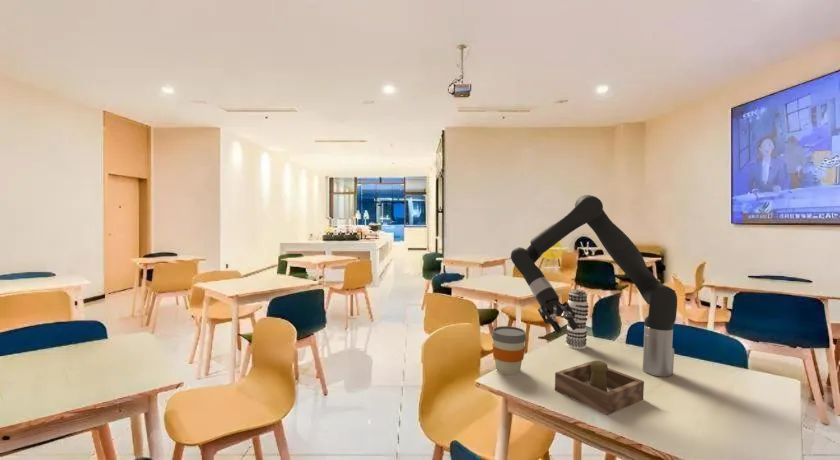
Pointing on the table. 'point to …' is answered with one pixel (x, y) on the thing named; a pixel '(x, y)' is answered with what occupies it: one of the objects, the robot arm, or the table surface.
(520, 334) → the reusable coffee cup
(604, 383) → the olive pawn
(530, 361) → the table surface
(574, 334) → the decorative candle
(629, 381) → the walnut crate
